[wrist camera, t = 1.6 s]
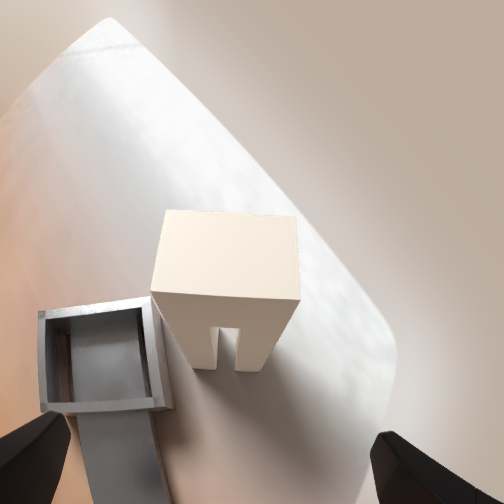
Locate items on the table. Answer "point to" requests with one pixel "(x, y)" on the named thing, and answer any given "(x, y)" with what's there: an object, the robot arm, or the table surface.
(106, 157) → the table surface
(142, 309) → the grey tray with tab
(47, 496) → the robot arm
